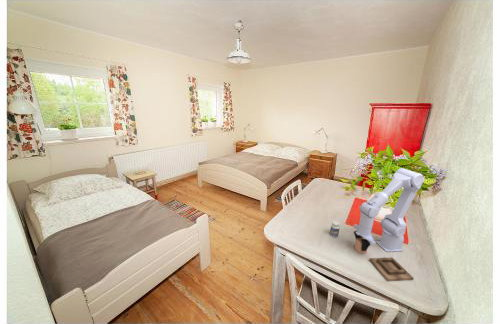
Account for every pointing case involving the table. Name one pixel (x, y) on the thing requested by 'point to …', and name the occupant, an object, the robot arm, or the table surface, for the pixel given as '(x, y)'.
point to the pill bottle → (335, 229)
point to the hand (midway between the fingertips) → (360, 247)
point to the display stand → (390, 269)
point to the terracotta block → (359, 245)
